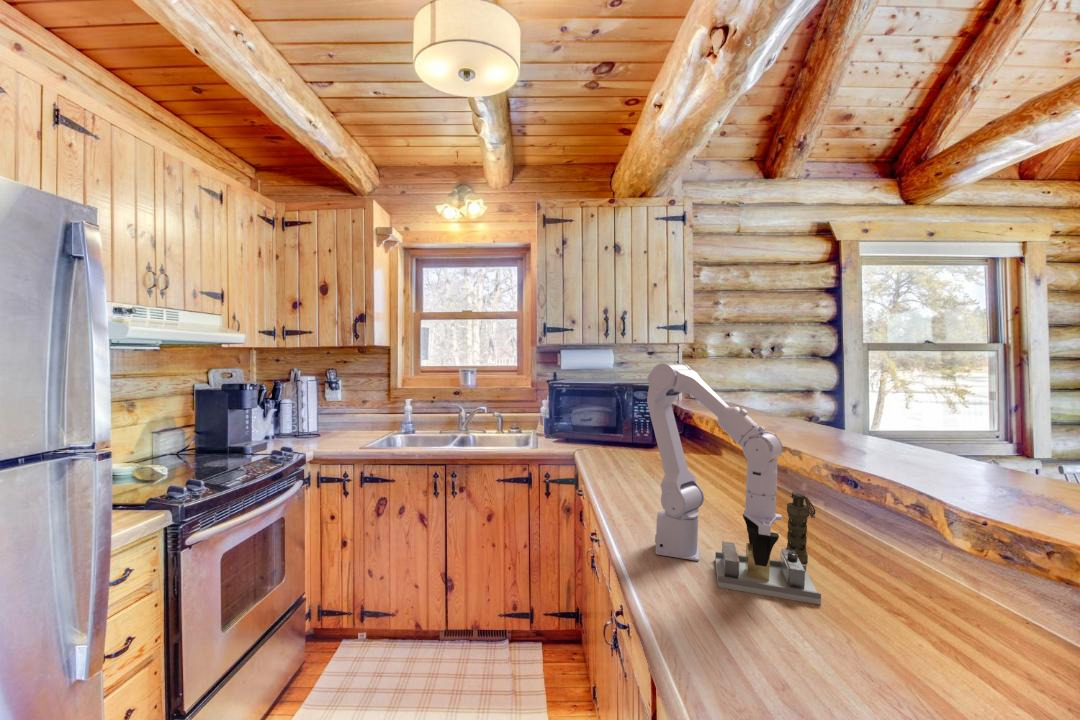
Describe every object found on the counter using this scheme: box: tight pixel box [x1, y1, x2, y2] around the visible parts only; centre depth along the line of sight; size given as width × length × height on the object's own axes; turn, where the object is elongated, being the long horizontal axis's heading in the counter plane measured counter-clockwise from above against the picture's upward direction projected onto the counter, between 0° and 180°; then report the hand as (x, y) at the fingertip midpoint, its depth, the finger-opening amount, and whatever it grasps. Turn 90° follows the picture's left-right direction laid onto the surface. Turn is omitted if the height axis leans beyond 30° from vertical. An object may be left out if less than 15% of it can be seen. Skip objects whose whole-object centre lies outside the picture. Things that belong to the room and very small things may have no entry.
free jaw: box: [779, 548, 805, 590], centre depth 95 cm, size 3×10×5 cm, turn 162°
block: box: [745, 542, 771, 581], centre depth 97 cm, size 4×4×6 cm
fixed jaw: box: [721, 541, 739, 579], centre depth 99 cm, size 3×10×4 cm, turn 162°
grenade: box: [784, 491, 816, 564], centre depth 108 cm, size 9×6×15 cm, turn 154°
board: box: [714, 551, 822, 606], centre depth 97 cm, size 18×13×2 cm
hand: (758, 557), depth 97 cm, fingers open, 7 cm apart
